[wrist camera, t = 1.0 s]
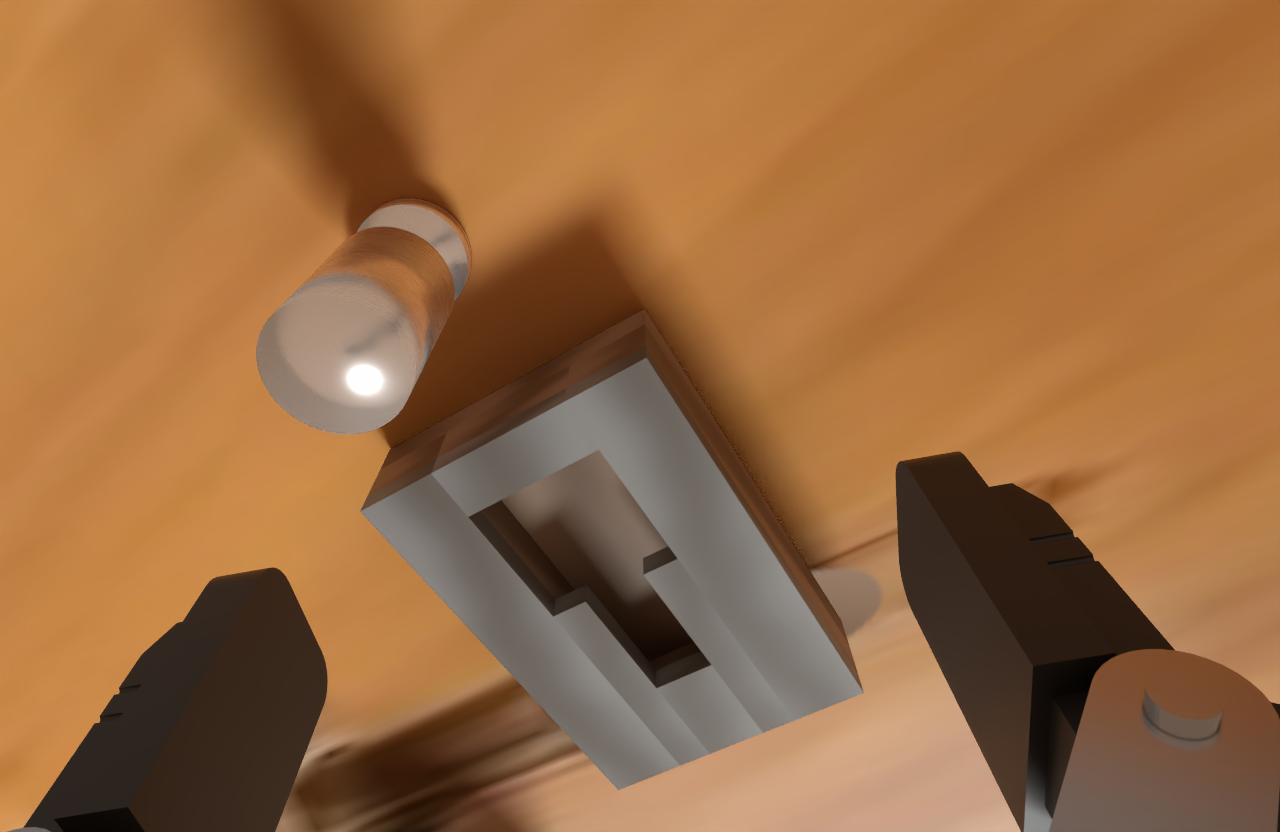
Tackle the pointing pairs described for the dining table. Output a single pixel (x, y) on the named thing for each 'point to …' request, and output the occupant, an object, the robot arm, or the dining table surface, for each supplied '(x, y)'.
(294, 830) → the dining table surface
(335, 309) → the steel peg
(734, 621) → the keyhole block
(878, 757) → the dining table surface
